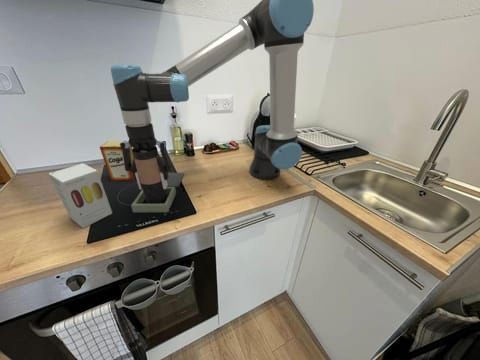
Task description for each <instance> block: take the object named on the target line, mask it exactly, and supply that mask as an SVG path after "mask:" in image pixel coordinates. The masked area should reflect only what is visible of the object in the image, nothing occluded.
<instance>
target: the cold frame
mask: <svg viewBox="0 0 480 360" xmlns="http://www.w3.org/2000/svg"><path fill="white" fill-rule="evenodd" d="M165 191H166V196H167V195H168V196H167V197H166V200H165V201H164V203H159V204H148V203H143V202H144V201H145V200H146V199H145V196H144V192H143V189H141V191H140V192H139V194H138V195H137V196H136V198H135V199H134V201H133V202H132V203H131V209H132V213H169V211H170V209H171V207H172V204H173V201H174V200H175V197H176V195H177V190H176V187H166V189H165ZM170 206H171V207H170ZM169 208H170V209H169Z"/></svg>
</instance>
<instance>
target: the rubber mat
mask: <svg viewBox="0 0 480 360" xmlns="http://www.w3.org/2000/svg"><path fill="white" fill-rule="evenodd" d="M184 175H185V172H168V176H169V177H168V180H167V184H168V185H167V187H175V188H179V187H180V184H181V183H182V180H183V178H184Z"/></svg>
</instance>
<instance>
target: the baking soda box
mask: <svg viewBox="0 0 480 360" xmlns="http://www.w3.org/2000/svg"><path fill="white" fill-rule="evenodd" d="M123 141H124V140H122V141H108V140H107V141H106V142H104V143H103V144H102V145H100V146H99V149H100V150H99V151H100V152H101V156H102V158H103V160H104V164H105V167H106V170H107V172H108V173H107V174H108V176H109V178H110V181H135V179H134V177H133V173H132V172H131V171H126V170H125V165H124V157H123V150H122V148H121V146H120V143H122V142H123ZM132 149H133V147H132V146H131V145H130V154H131V163H133V158H134V156H133V153H132Z"/></svg>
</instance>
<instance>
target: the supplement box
mask: <svg viewBox="0 0 480 360" xmlns="http://www.w3.org/2000/svg"><path fill="white" fill-rule="evenodd" d="M48 176H49V178H50V181H52V183H53V186H54V188H55V190H56V192H57V194H58V196H59V198H60V200H61V202H62V204H63V206H64V208H65V210H66V212H67V214H68V216H69V219H71V220H72V221H73V222H75V223H76V224H77V225H78V226H80V228H82V229H85V228H86V227H88V226H91V225H93V224H94V223H96V222H98V221H100V220H102V219H104V218H107V217H108V216H110V215H112V214H113V210H112V208H111V206H110V202H109V200H108V197H107V194H106V192H105V191H106V190H105V189H104V186H103V183H102V180H101V177H100V174H99V172H98V169H95V168H93V167H92V166H89V165H87V164H85V163H80V164H76V165H73V166H70V167H66V168H62V169H59V170H56V171H53V172H52V171H51V172H49V173H48Z"/></svg>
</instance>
